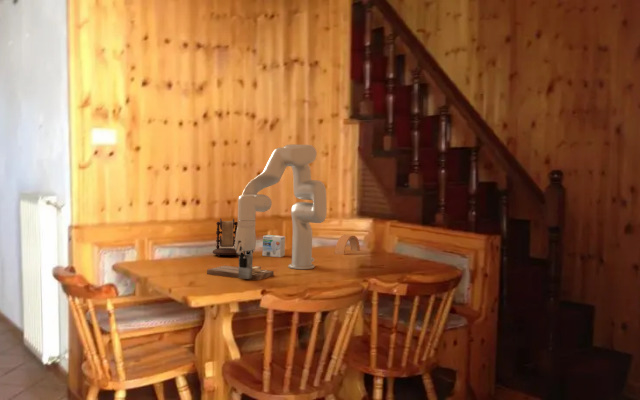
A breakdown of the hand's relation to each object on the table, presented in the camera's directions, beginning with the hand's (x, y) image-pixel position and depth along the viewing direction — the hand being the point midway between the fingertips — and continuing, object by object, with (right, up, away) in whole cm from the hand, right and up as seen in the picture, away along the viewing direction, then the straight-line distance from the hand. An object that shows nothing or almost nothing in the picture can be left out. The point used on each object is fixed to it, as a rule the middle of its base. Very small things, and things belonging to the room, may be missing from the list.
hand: (245, 266), depth 285 cm
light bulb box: (+7, -2, +72) cm, 73 cm away
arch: (+48, -2, +94) cm, 105 cm away
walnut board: (-4, -5, +12) cm, 13 cm away
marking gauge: (+2, -5, +4) cm, 7 cm away
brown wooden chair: (-18, -1, +68) cm, 70 cm away
